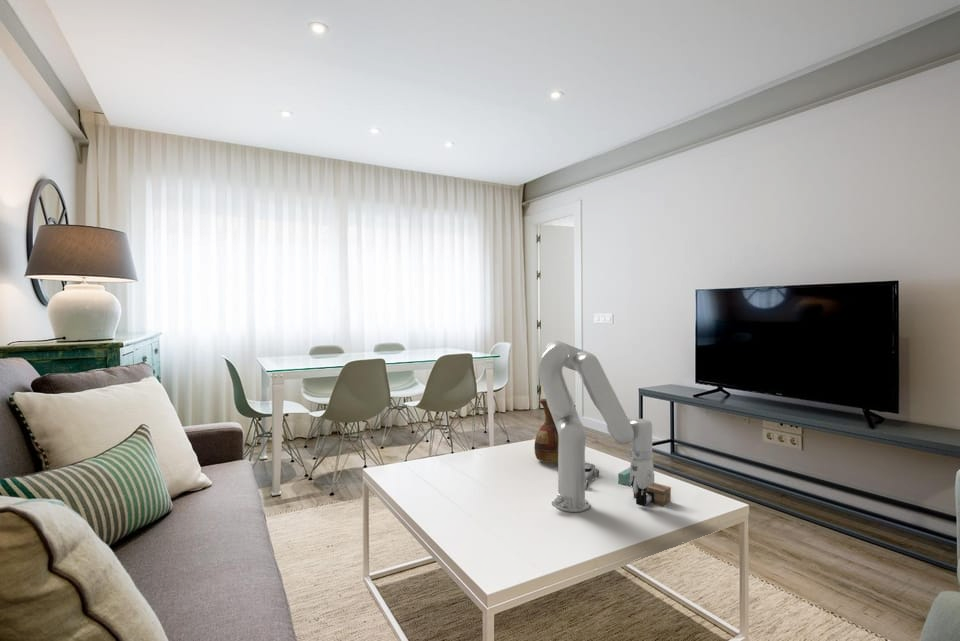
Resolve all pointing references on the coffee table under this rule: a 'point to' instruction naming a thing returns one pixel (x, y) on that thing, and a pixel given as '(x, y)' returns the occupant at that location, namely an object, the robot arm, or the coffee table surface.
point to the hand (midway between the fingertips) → (641, 504)
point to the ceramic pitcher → (547, 438)
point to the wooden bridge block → (659, 493)
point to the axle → (649, 497)
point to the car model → (590, 473)
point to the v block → (624, 477)
